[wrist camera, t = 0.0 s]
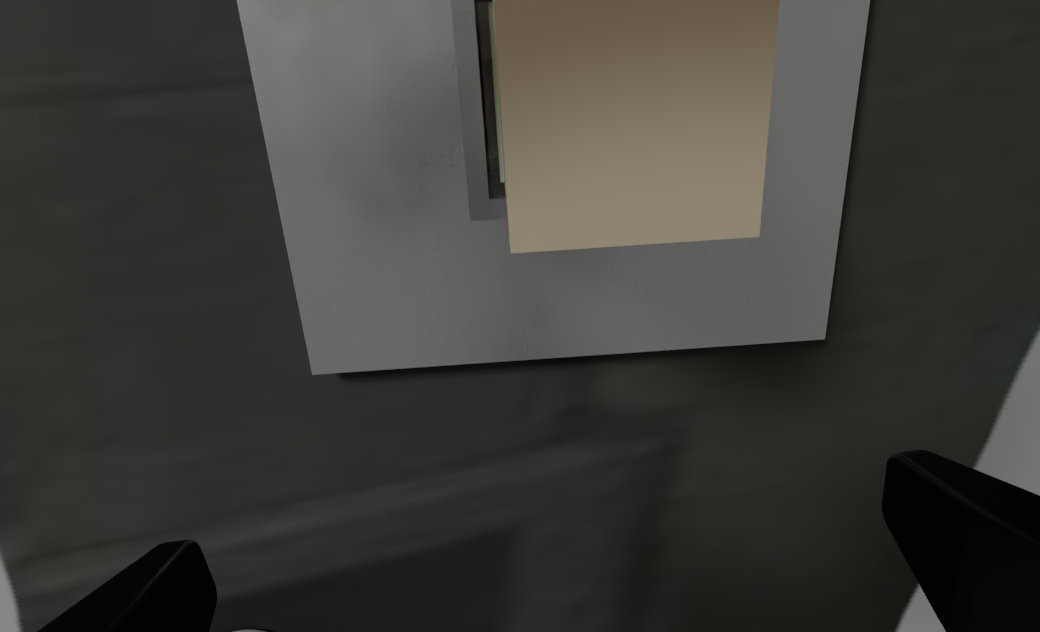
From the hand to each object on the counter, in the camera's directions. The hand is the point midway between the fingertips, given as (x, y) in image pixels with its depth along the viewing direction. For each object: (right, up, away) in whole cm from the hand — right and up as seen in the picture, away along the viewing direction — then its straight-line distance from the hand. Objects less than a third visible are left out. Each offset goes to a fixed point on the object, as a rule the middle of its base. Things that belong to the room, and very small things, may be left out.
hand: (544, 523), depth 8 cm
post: (+1, +9, +10) cm, 14 cm away
